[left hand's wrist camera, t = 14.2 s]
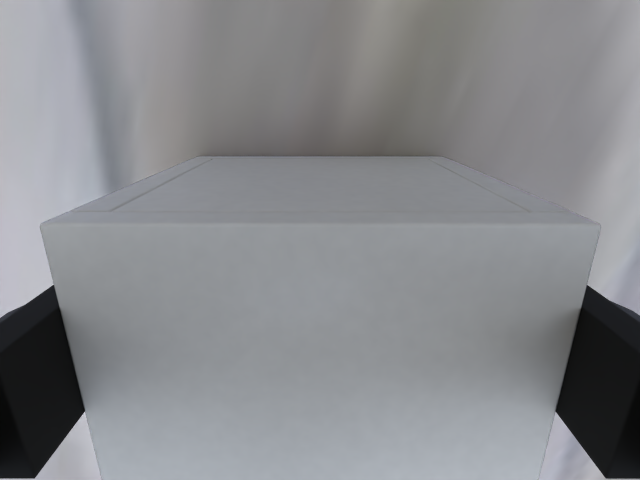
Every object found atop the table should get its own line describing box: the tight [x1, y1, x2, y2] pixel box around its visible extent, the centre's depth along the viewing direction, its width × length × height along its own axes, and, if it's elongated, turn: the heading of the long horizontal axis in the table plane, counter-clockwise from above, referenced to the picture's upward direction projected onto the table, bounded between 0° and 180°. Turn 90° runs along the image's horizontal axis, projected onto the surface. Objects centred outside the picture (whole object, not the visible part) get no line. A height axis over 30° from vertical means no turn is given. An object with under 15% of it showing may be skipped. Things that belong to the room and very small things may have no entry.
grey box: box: [40, 156, 601, 480], centre depth 15 cm, size 18×11×10 cm, turn 0°
